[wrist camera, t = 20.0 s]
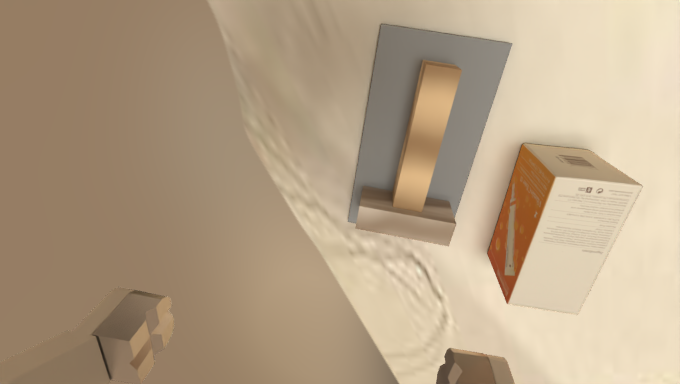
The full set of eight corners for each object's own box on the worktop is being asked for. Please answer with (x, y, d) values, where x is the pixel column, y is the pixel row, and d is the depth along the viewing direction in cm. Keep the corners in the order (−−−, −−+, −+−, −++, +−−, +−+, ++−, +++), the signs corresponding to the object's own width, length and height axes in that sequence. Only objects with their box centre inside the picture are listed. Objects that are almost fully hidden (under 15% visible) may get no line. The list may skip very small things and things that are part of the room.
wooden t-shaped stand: (387, 54, 31) (386, 59, 27) (491, 70, 30) (506, 78, 26) (359, 206, 38) (355, 228, 34) (442, 221, 37) (448, 246, 33)
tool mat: (381, 23, 30) (381, 24, 30) (510, 43, 30) (512, 43, 29) (348, 219, 39) (347, 221, 39) (446, 237, 39) (447, 240, 38)
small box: (554, 175, 26) (506, 306, 32) (646, 185, 25) (580, 317, 31) (520, 141, 33) (485, 253, 39) (590, 149, 33) (545, 261, 38)
